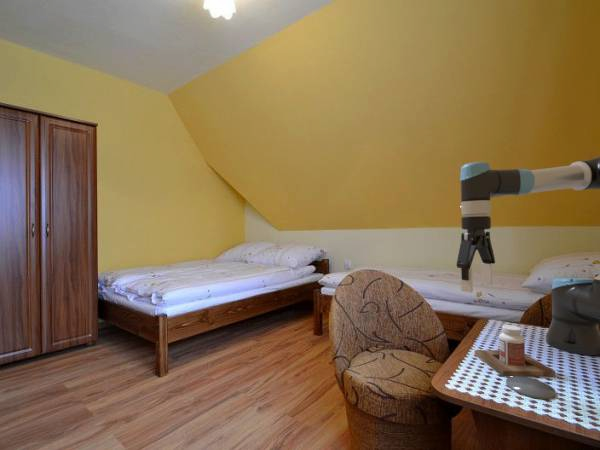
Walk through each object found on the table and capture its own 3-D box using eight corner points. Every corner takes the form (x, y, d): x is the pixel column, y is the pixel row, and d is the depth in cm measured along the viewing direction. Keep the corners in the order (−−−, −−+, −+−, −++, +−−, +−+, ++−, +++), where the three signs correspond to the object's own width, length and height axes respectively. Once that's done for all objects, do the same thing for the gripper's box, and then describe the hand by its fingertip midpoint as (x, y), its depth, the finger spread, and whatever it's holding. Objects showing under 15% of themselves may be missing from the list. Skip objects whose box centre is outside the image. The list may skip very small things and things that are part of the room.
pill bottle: (528, 366, 90) (528, 328, 90) (519, 372, 87) (519, 332, 87) (505, 358, 96) (505, 322, 96) (495, 363, 92) (495, 326, 92)
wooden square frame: (519, 355, 98) (519, 350, 98) (555, 376, 84) (555, 371, 84) (474, 354, 98) (474, 350, 98) (502, 376, 84) (502, 371, 84)
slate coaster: (535, 378, 83) (535, 376, 83) (566, 399, 73) (566, 397, 73) (497, 378, 83) (497, 376, 83) (523, 399, 73) (523, 396, 73)
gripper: (479, 216, 102) (481, 280, 102) (442, 216, 87) (443, 292, 87) (505, 215, 97) (507, 283, 97) (470, 215, 81) (472, 297, 81)
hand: (477, 288), depth 92 cm, fingers open, 13 cm apart
